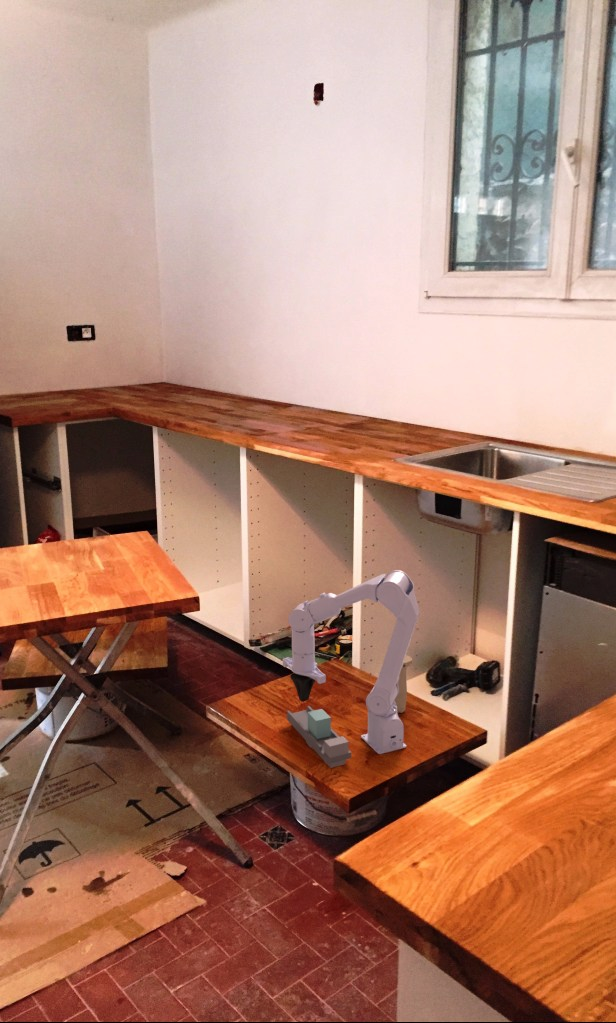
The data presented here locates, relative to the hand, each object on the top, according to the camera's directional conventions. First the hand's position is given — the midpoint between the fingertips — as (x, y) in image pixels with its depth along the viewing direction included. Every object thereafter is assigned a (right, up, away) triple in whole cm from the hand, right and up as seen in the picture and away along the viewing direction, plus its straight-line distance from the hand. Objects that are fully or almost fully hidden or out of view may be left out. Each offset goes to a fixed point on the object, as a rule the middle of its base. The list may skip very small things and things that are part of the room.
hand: (304, 699), depth 218 cm
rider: (+4, -7, -7) cm, 10 cm away
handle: (+25, -6, +11) cm, 28 cm away
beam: (+3, -10, -5) cm, 12 cm away
